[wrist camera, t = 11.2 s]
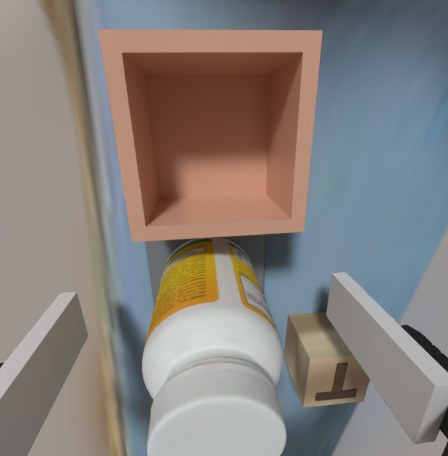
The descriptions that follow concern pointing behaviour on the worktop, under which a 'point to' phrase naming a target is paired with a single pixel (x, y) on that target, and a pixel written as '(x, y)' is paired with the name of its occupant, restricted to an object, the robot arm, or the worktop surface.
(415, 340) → the robot arm
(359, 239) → the worktop surface
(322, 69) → the worktop surface
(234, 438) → the supplement bottle
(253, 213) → the pink square bin
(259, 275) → the slate coaster
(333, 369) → the letter cube
